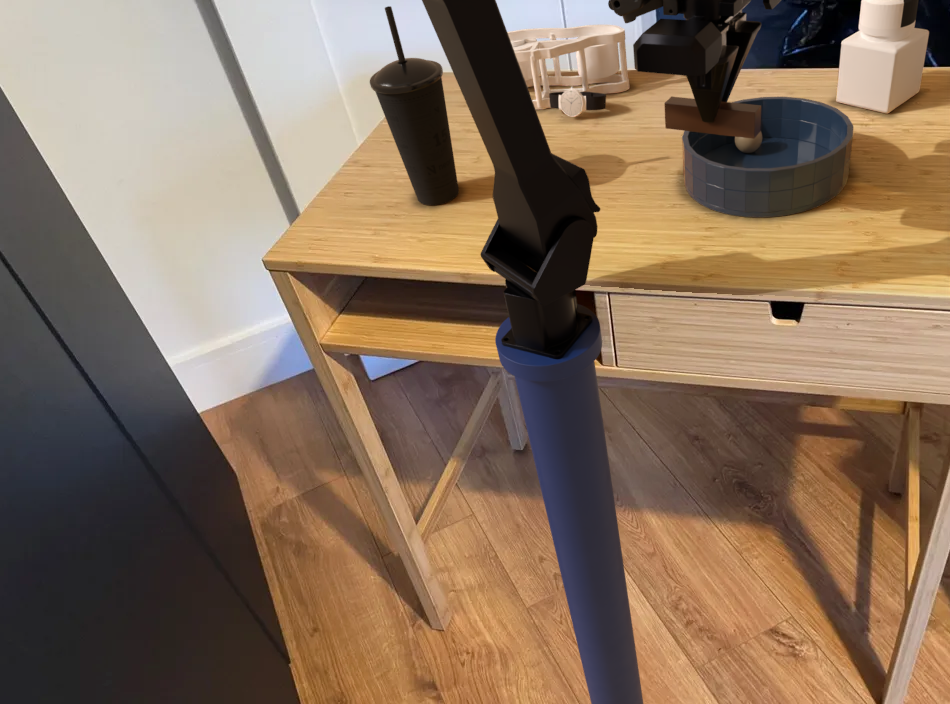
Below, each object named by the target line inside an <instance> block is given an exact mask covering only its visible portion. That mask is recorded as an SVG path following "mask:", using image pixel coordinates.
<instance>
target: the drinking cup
mask: <svg viewBox="0 0 950 704" xmlns="http://www.w3.org/2000/svg"><path fill="white" fill-rule="evenodd" d="M384 12H385V15H386V18H387V22H388V23H387V24H388V26H389V30H390V33H391V39H392V42H393V45H394V48H395V52H396V56H397V59H396V60H393V61H391V62H389V63H387V64H386V65H384V66H383V67H382V68H381V69H379V70H378V71H376V72H375V73H374V74H372V76H371V77H370V78H369V87H370V88H371V90H373V92H375V95H376V98H377V99H378V103H379V104H380V105H379V106H380V107H381V110H382V112H383V115H384V118H385V120H386V122H387V125H388V128H389V130H390V132H391V135H392V138H393V140H394V143H395V146H396V148H397V151H398V153H399V155H400V158H401V161H402V163H403V165H404V168H405V170H406V174H407V176H408V178H409V181H410V184H411V186H412V189H413V191H414V194H415V196H416V199H417V201H418V203H420V204H422V205H424V206H440V205H444V204H447V203H449V202H451V201H452V200H454V199H456V198H457V197H458V195H459V193H460V190H459V189H460V188H459V183H458V177H457V170H456V162H455V156H454V151H453V144H452V137H451V130H450V126H449V117H448V111H447V110H448V109H447V105H446V100H445V99H446V98H445V91H444V85H443V78H442V76H443V75H444V69H443V66H442V65H441V64H440V62H438V61H434V60H429V59H425V58H420V57H405V53H404V50H403V45H402V41H401V38H400V34H399V30H398V26H397V23H396V19H395V15H394V11H393V8H392V6H390V5H388V6H385V7H384Z"/></svg>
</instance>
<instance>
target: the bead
mask: <svg viewBox="0 0 950 704" xmlns="http://www.w3.org/2000/svg"><path fill="white" fill-rule="evenodd" d="M761 143H762V133H761V131H760V132H759V134H758V135H757V136H756V137H755V138H754V139H752V138H743V137H735V145H736V147H737V148H738V149H739V150H740V151H741V152H743V153H752V152H754V151H756V150H757V149H758V148H759V147H760V145H761Z"/></svg>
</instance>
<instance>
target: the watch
mask: <svg viewBox="0 0 950 704" xmlns="http://www.w3.org/2000/svg"><path fill="white" fill-rule="evenodd" d="M573 88H574V86H570V88H567V89H568V90H566V91H565V92H554V93H550V94H549V99H550V107H551V108H550V109H557V110H559V111H562V112H563V113H564V115H566V116H568V117H572V118H575V117H579V116H580V115H581V114H582V113H583V112H587V111H602V110H606V108H607V93H606V94H602V93H594V92H579V91H578V90H576V89H573Z"/></svg>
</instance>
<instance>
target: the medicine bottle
mask: <svg viewBox="0 0 950 704" xmlns="http://www.w3.org/2000/svg"><path fill="white" fill-rule="evenodd" d="M918 7H919V0H861V1H860V11H859V19H858V31H856V32H855V33H853V34H851V35H849V36H848V37H846V38H844V39H843V40H841V43H840V51H839V61H838V71H837V72H838V73H837V81H836V82H837V83H836V93H835V102H836V103H839V104H843V105H848V106H852V107H855V108H861V109H865V110H869V111H873V112H878V113H882V114H885V115H886V114H889V113H891V112H892V111H894V110H895V109H896V108H898V107H900V106H901V105H903V104H904V103H906V102H907V101H908V100H910V99H911V98H913V97H914V96H916V95H917V94H919V92H920V89H921V84H922V79H923V72H924V66H925V60H926V56H927V55H926V54H927V48H928V43H929V36H930V31H929V30H928V29H925V28H918V27H915V26H916V20H917V13H918Z"/></svg>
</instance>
